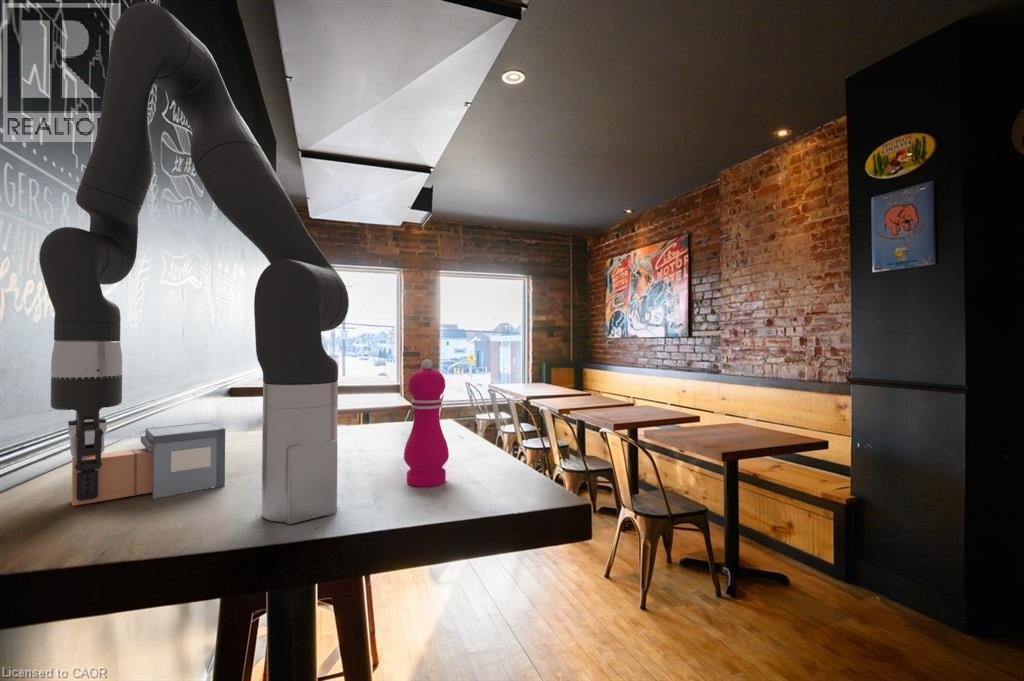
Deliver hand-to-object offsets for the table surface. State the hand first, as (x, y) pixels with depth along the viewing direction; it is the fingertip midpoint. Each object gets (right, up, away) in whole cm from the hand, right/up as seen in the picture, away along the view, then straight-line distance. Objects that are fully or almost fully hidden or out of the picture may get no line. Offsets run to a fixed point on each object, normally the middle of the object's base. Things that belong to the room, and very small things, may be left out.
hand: (86, 495), depth 67 cm
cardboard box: (+4, -1, +4) cm, 6 cm away
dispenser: (+8, -1, +8) cm, 12 cm away
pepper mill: (+46, -1, +11) cm, 47 cm away
